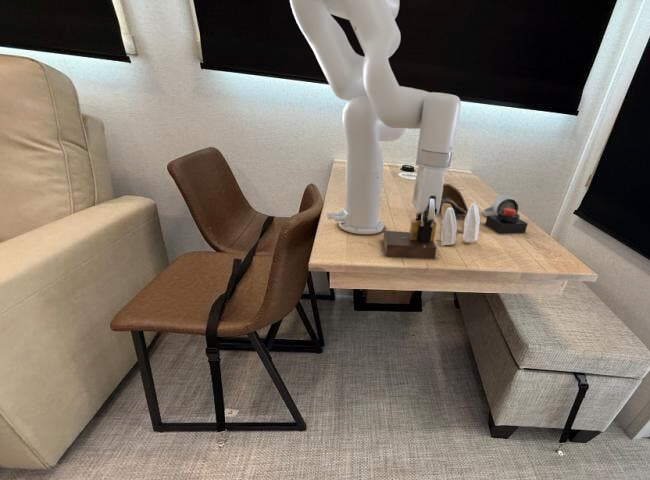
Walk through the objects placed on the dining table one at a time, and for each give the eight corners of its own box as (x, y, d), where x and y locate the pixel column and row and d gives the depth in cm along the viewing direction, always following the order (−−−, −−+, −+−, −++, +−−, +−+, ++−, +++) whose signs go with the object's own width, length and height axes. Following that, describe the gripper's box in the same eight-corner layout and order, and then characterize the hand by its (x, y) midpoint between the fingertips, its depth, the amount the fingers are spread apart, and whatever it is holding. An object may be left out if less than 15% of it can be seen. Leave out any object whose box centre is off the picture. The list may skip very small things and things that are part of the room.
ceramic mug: (509, 214, 120) (515, 193, 116) (515, 222, 113) (522, 199, 109) (480, 212, 120) (485, 190, 116) (485, 219, 113) (490, 196, 109)
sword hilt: (476, 198, 110) (438, 175, 107) (486, 220, 89) (439, 192, 86) (459, 223, 115) (422, 202, 112) (465, 250, 94) (420, 224, 91)
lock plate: (386, 257, 78) (387, 244, 76) (382, 240, 86) (383, 229, 84) (443, 260, 80) (445, 248, 78) (434, 243, 88) (436, 232, 87)
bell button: (507, 217, 101) (509, 211, 100) (500, 213, 104) (502, 207, 103) (516, 216, 103) (518, 211, 102) (509, 213, 105) (511, 207, 105)
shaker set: (474, 239, 94) (483, 201, 88) (481, 245, 91) (491, 205, 85) (435, 240, 91) (443, 200, 85) (441, 246, 87) (449, 204, 81)
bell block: (499, 234, 101) (503, 218, 98) (484, 224, 107) (488, 209, 104) (524, 233, 105) (529, 217, 102) (509, 224, 111) (513, 209, 108)
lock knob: (409, 239, 80) (412, 221, 78) (408, 237, 82) (411, 218, 79) (433, 241, 81) (436, 222, 79) (432, 238, 83) (435, 220, 80)
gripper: (411, 151, 78) (402, 225, 88) (423, 165, 64) (411, 251, 74) (441, 154, 79) (429, 226, 89) (460, 168, 65) (443, 252, 75)
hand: (421, 237), depth 81 cm, fingers open, 4 cm apart
